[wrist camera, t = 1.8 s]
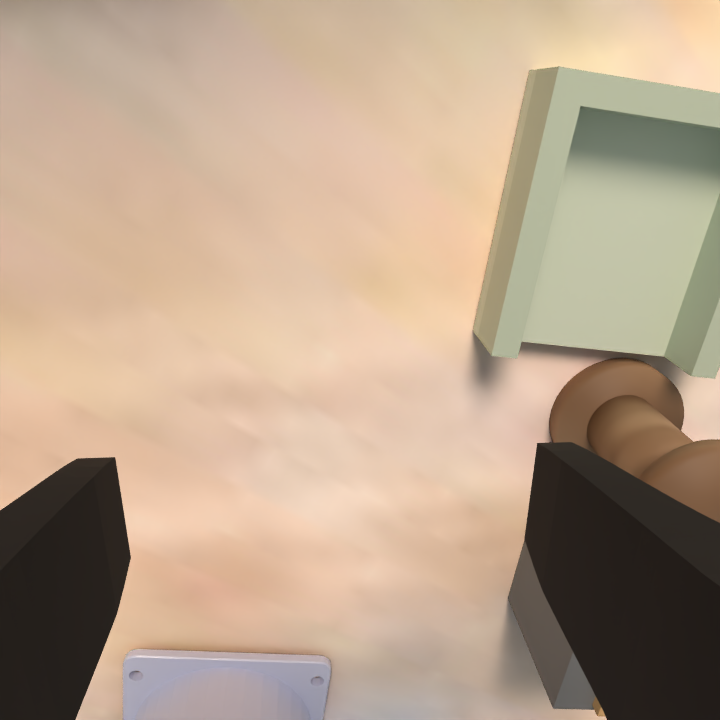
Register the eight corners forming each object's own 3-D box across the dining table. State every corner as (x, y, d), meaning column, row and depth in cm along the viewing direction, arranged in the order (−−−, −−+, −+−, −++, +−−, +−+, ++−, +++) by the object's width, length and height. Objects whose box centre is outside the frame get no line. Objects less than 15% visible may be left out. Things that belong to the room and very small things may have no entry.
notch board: (676, 352, 21) (715, 378, 19) (472, 330, 21) (491, 355, 18) (761, 108, 19) (817, 109, 17) (529, 70, 18) (559, 66, 16)
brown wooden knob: (649, 473, 23) (754, 586, 18) (536, 464, 23) (609, 579, 17) (688, 364, 22) (817, 453, 16) (567, 352, 21) (659, 439, 16)
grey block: (592, 601, 26) (661, 722, 21) (507, 597, 25) (557, 719, 20) (626, 502, 24) (711, 609, 19) (536, 496, 23) (599, 603, 18)
